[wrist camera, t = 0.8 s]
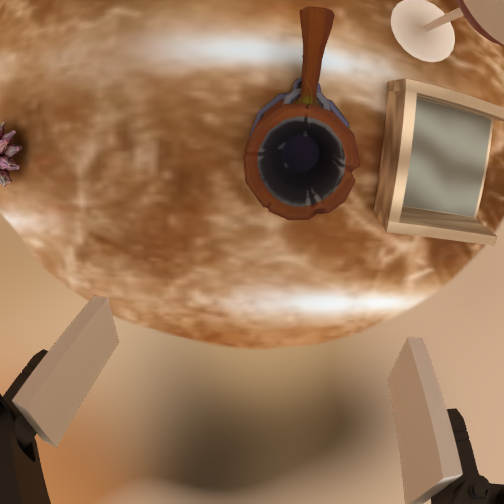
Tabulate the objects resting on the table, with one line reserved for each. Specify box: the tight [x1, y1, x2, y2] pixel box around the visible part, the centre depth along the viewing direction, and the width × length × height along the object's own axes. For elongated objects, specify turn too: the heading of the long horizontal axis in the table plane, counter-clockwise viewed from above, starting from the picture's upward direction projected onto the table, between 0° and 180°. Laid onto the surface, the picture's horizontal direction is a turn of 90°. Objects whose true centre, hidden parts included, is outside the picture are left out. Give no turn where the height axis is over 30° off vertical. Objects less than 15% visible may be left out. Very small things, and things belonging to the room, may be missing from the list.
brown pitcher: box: [243, 7, 360, 220], centre depth 27 cm, size 18×12×15 cm, turn 175°
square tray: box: [374, 79, 504, 246], centre depth 30 cm, size 16×15×7 cm
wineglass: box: [391, 0, 504, 62], centre depth 16 cm, size 9×10×23 cm
